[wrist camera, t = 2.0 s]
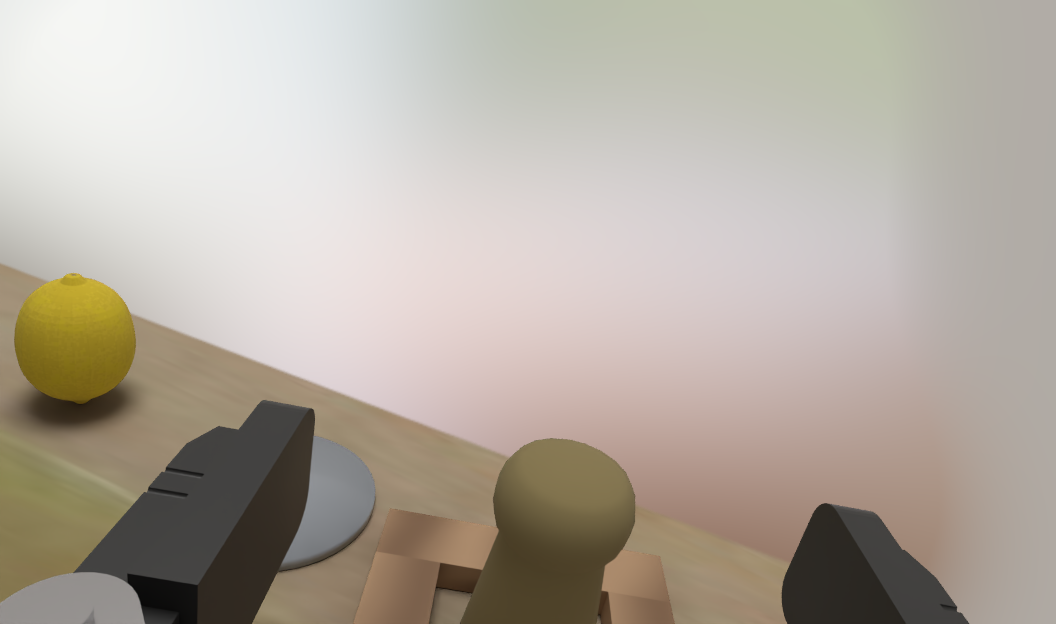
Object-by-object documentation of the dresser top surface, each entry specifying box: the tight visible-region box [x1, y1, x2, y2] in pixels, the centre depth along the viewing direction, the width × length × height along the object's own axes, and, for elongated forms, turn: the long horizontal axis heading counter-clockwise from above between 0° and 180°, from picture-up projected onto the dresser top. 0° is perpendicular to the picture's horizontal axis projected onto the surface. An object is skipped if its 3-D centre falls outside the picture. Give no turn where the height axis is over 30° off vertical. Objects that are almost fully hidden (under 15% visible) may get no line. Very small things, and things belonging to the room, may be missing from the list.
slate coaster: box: [278, 436, 375, 571], centre depth 35 cm, size 10×10×1 cm
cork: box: [460, 438, 635, 624], centre depth 26 cm, size 6×6×11 cm
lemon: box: [14, 273, 136, 404], centre depth 37 cm, size 6×6×8 cm
